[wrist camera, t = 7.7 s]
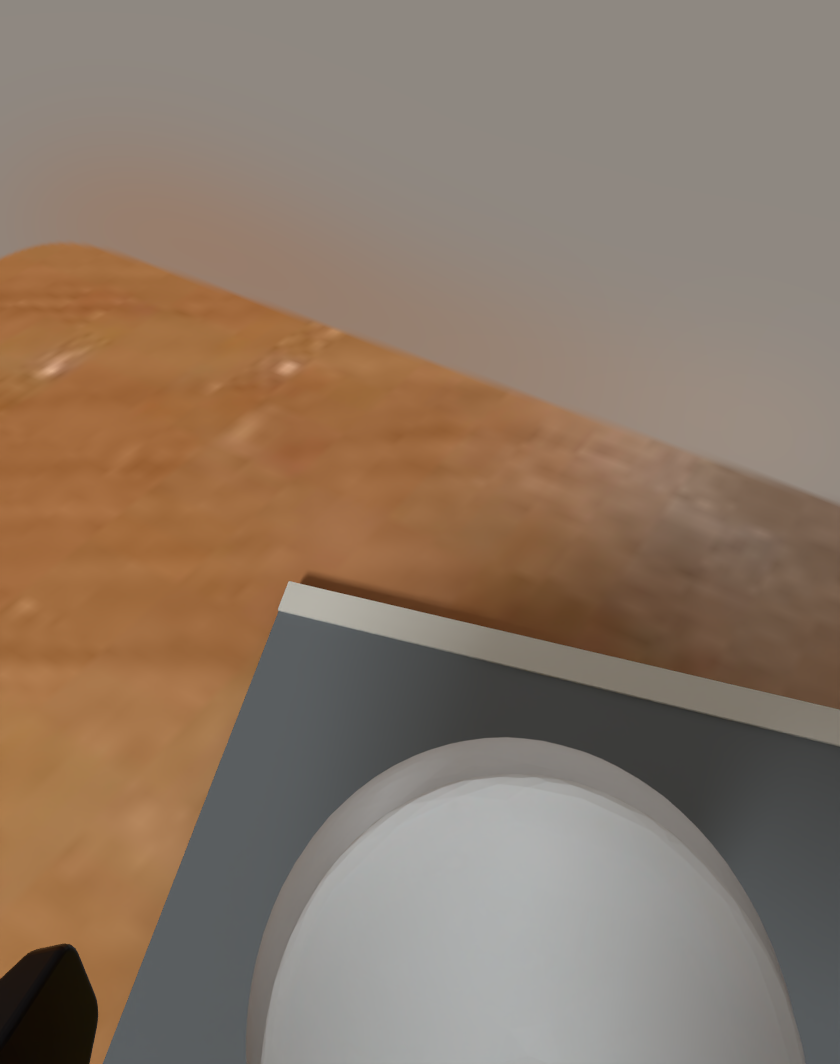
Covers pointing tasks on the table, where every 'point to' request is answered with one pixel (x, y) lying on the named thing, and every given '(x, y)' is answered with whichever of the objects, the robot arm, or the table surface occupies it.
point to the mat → (466, 714)
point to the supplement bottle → (515, 925)
